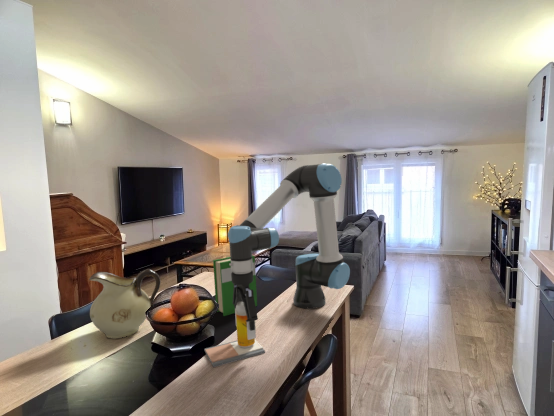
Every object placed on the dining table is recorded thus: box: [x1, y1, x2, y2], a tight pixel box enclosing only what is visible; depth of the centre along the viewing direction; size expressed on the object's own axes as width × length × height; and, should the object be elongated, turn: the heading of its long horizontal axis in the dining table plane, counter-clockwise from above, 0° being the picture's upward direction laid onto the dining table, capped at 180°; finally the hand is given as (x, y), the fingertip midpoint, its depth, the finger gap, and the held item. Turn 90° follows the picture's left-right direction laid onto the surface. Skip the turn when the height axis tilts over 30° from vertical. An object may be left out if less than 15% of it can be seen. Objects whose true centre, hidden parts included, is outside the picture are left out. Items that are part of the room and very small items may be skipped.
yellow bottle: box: [235, 301, 256, 348], centre depth 120 cm, size 6×6×15 cm
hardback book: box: [212, 254, 258, 317], centre depth 158 cm, size 18×7×24 cm, turn 127°
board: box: [204, 338, 266, 368], centre depth 119 cm, size 18×12×1 cm, turn 115°
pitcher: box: [89, 268, 161, 339], centre depth 139 cm, size 22×24×25 cm
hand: (245, 331), depth 120 cm, fingers open, 11 cm apart
